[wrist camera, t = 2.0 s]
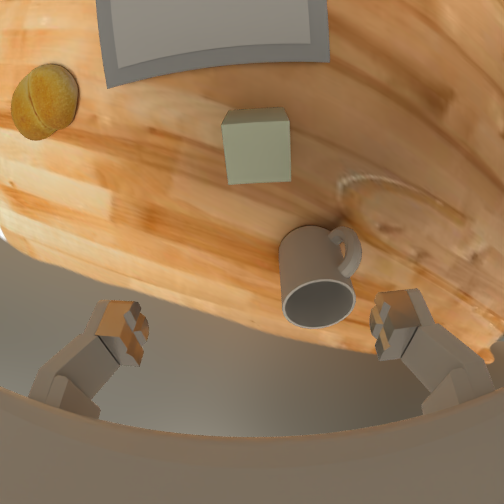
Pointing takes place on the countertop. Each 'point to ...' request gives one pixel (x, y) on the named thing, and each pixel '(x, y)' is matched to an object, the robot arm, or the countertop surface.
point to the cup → (318, 275)
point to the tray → (207, 35)
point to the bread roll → (44, 102)
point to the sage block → (257, 145)
